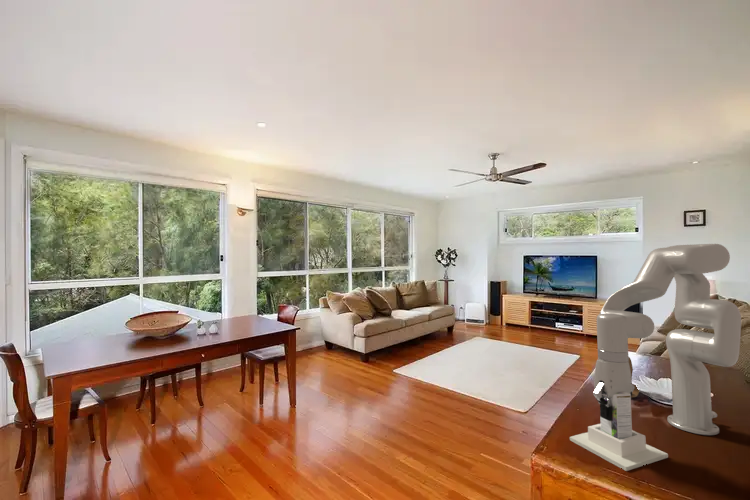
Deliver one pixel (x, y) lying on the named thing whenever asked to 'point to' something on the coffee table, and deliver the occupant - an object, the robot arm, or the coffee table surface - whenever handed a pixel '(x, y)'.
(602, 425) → the syrup box
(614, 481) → the coffee table surface
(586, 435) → the dock socket
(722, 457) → the coffee table surface
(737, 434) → the coffee table surface
